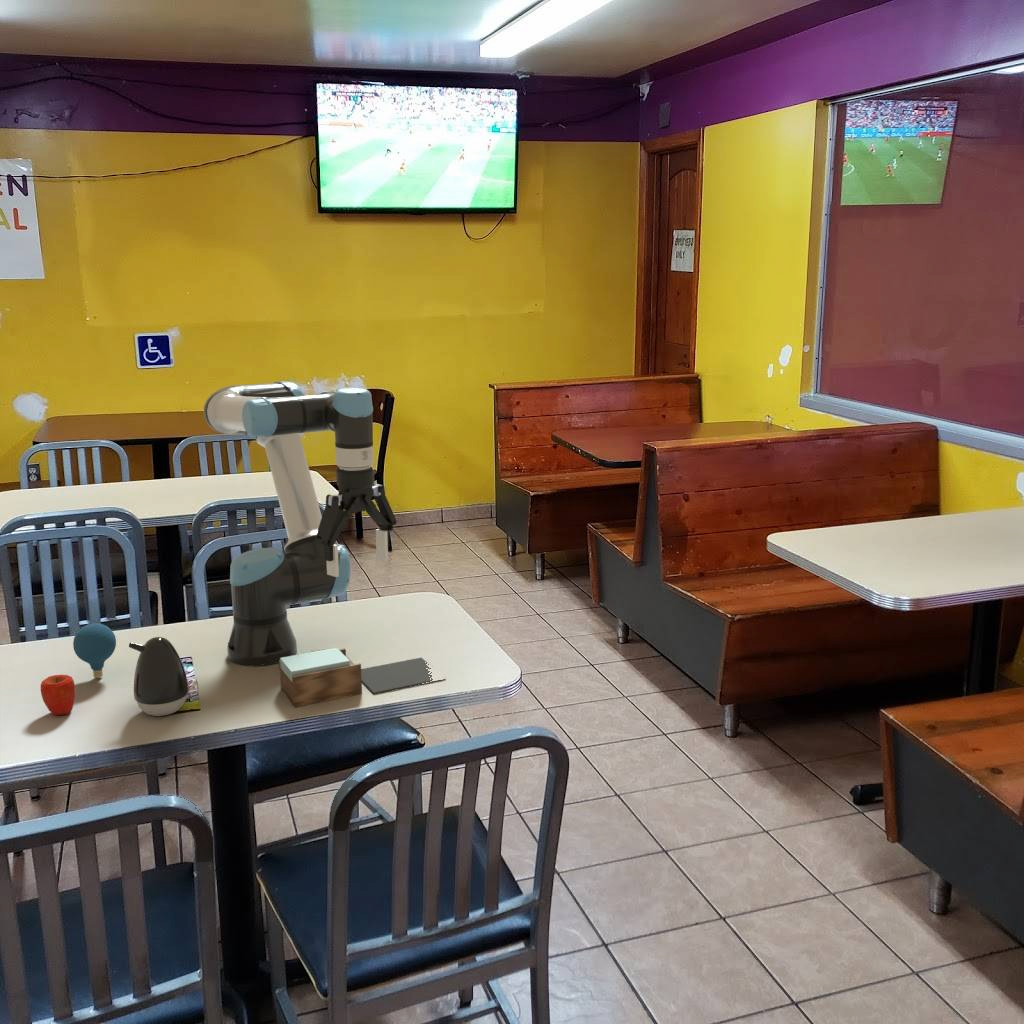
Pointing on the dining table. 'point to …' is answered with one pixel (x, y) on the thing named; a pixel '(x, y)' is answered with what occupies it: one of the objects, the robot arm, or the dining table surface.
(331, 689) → the box
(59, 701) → the apple
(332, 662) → the lid
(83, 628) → the light bulb
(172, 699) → the pump dispenser
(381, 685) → the mat
